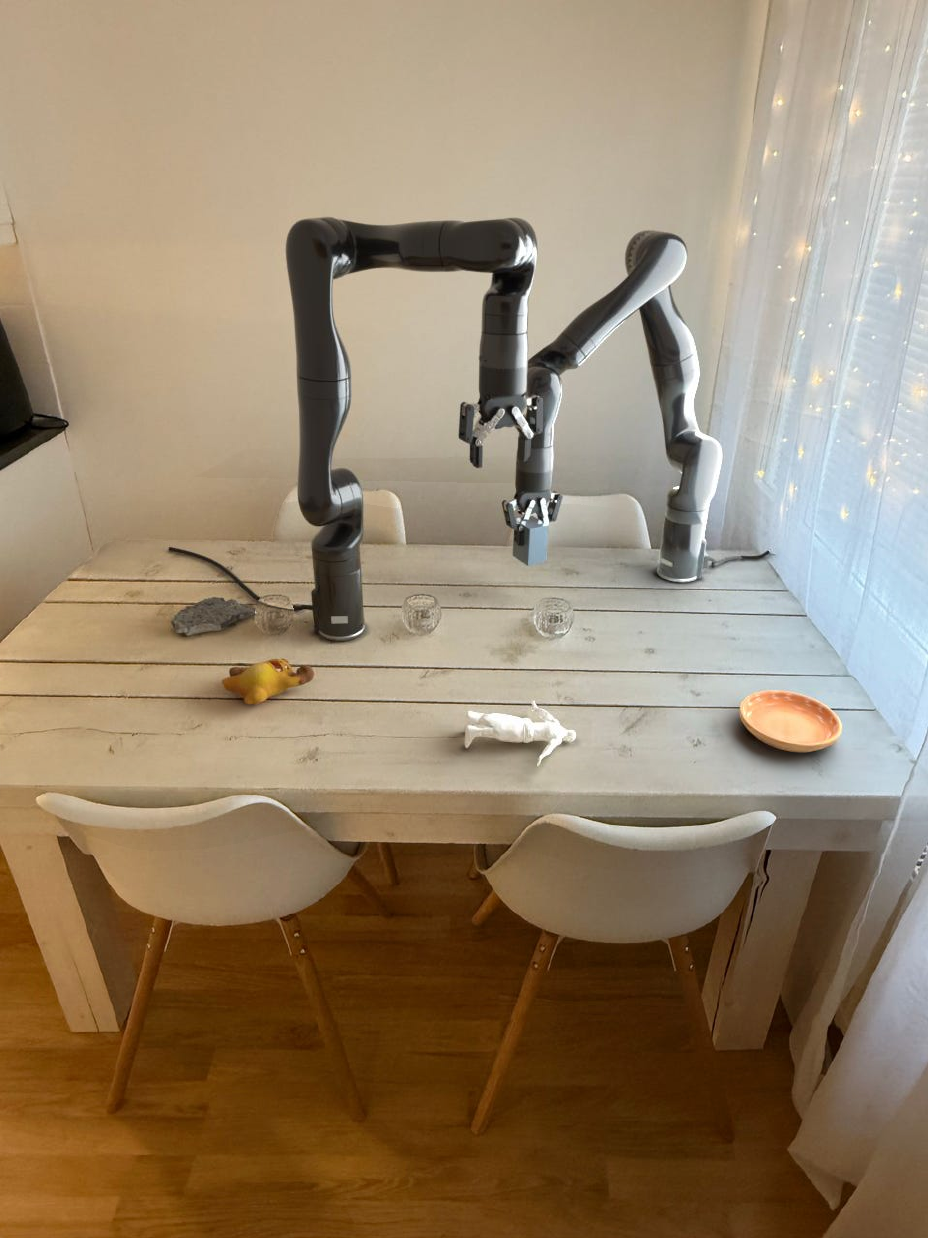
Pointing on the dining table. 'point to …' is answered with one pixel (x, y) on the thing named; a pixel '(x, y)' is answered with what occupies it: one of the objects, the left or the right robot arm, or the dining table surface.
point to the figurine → (517, 729)
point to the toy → (265, 679)
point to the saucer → (790, 721)
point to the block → (533, 543)
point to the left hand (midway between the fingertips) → (500, 463)
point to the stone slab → (210, 615)
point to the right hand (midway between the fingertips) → (530, 542)
